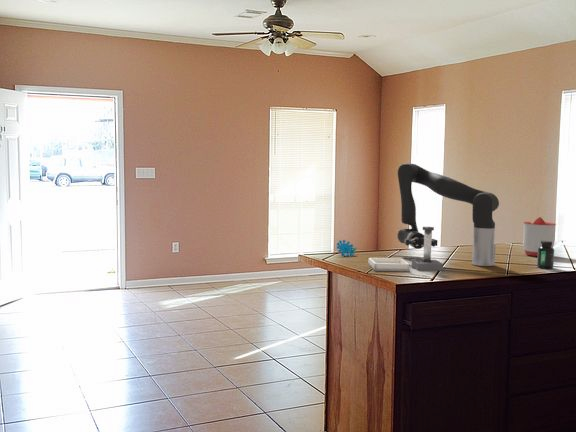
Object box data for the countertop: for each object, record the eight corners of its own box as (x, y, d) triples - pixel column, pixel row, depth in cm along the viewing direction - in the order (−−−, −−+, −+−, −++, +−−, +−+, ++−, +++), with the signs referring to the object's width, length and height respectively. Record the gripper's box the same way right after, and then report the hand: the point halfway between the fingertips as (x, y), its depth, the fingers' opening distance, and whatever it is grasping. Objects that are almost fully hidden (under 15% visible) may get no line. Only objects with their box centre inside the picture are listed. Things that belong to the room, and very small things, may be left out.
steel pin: (430, 267, 274) (432, 226, 272) (433, 269, 269) (435, 227, 267) (419, 267, 273) (421, 226, 272) (422, 269, 269) (424, 227, 267)
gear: (339, 254, 298) (335, 237, 305) (334, 261, 302) (331, 245, 309) (359, 256, 302) (355, 240, 308) (354, 263, 306) (350, 247, 312)
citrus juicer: (547, 253, 328) (549, 216, 326) (558, 258, 311) (560, 218, 309) (517, 252, 330) (519, 215, 328) (526, 257, 312) (528, 217, 311)
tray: (401, 264, 279) (401, 258, 279) (409, 271, 262) (409, 264, 262) (368, 264, 279) (368, 257, 279) (374, 270, 262) (374, 263, 262)
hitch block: (435, 266, 277) (436, 259, 276) (442, 270, 266) (442, 263, 266) (411, 266, 276) (411, 259, 276) (417, 270, 265) (417, 263, 265)
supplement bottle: (543, 269, 276) (545, 242, 275) (533, 266, 282) (535, 240, 281) (556, 268, 278) (558, 242, 277) (546, 266, 284) (547, 240, 283)
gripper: (401, 231, 291) (409, 235, 275) (431, 232, 291) (440, 236, 275) (400, 247, 292) (408, 252, 275) (430, 247, 292) (440, 252, 276)
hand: (424, 244), depth 275 cm, fingers open, 8 cm apart
